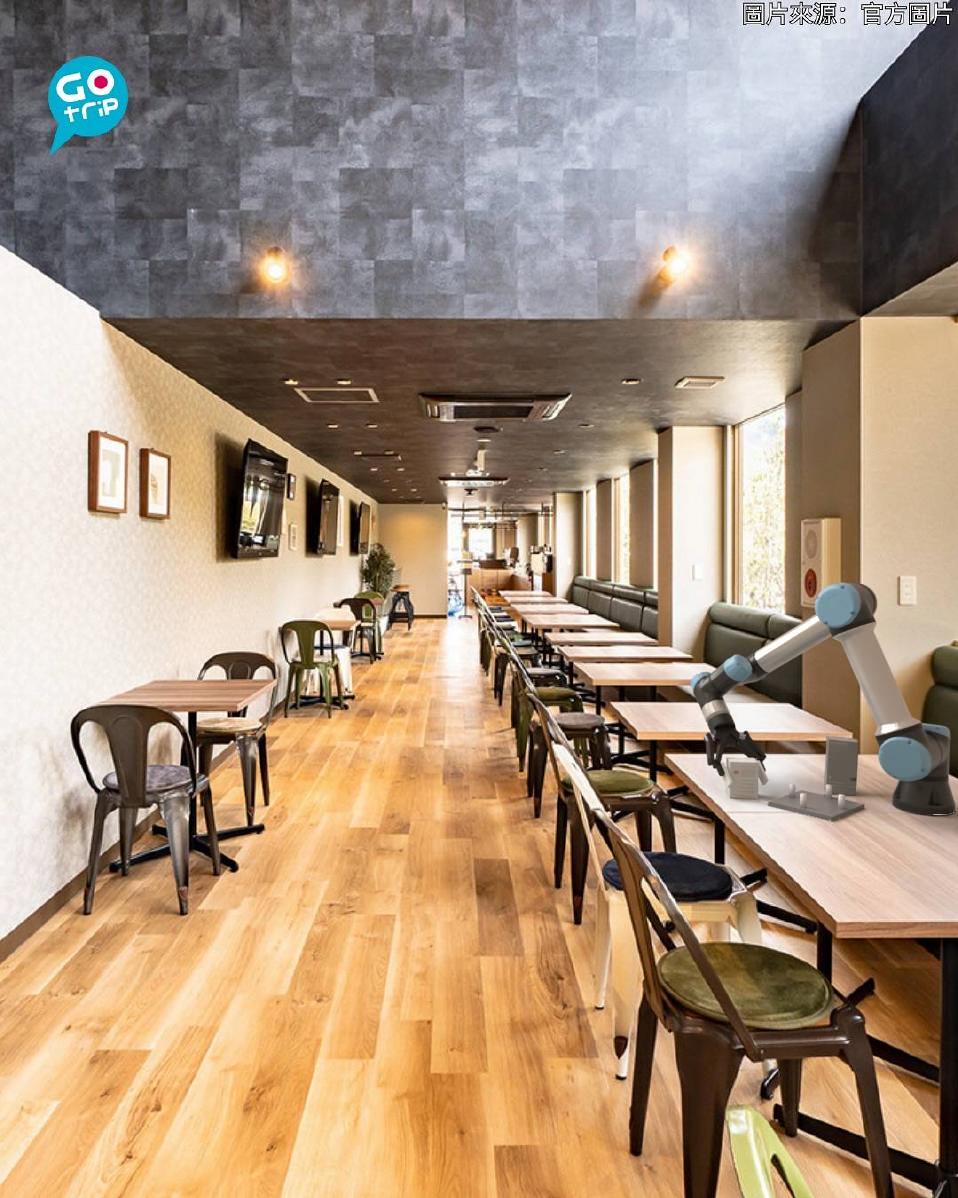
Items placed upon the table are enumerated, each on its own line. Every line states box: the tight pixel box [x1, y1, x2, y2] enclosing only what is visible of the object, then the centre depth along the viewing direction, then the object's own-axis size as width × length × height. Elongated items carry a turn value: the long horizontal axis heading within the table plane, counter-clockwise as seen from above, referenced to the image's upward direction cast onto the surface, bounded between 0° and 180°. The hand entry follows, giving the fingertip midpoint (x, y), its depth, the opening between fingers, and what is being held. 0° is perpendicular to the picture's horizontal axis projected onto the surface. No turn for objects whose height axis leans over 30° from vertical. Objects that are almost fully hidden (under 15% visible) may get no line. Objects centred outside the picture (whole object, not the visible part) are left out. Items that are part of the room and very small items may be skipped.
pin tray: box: [767, 783, 866, 822], centre depth 226 cm, size 18×18×5 cm
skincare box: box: [823, 735, 860, 797], centre depth 241 cm, size 8×7×16 cm
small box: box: [725, 756, 759, 800], centre depth 236 cm, size 8×6×10 cm
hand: (747, 784), depth 234 cm, fingers open, 11 cm apart
